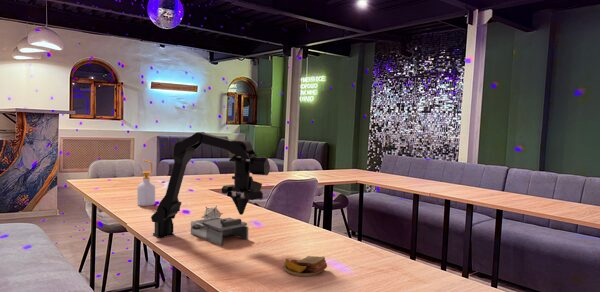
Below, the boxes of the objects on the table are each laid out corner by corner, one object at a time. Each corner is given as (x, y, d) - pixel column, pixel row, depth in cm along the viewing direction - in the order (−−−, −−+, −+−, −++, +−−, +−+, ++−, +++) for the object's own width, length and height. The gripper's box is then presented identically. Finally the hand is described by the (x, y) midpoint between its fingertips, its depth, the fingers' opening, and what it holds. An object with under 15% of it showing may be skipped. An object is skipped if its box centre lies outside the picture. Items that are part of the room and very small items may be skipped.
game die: (207, 232, 189) (194, 215, 188) (218, 222, 196) (206, 205, 195) (218, 226, 184) (205, 208, 183) (229, 215, 191) (216, 198, 190)
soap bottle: (136, 203, 231) (136, 159, 229) (154, 202, 235) (154, 158, 233) (138, 206, 223) (138, 160, 221) (155, 205, 227) (156, 160, 225)
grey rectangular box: (216, 246, 156) (216, 233, 156) (186, 234, 172) (186, 222, 171) (252, 238, 168) (252, 225, 168) (221, 227, 184) (221, 216, 183)
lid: (219, 231, 158) (219, 223, 158) (202, 224, 166) (202, 217, 166) (246, 225, 167) (247, 218, 167) (229, 219, 176) (229, 213, 175)
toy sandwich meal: (301, 261, 143) (301, 247, 143) (332, 271, 135) (333, 256, 134) (275, 270, 134) (276, 256, 134) (308, 282, 125) (308, 266, 125)
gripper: (274, 174, 157) (273, 215, 158) (244, 169, 170) (243, 207, 171) (250, 177, 149) (250, 220, 150) (221, 171, 162) (220, 211, 163)
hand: (241, 214), depth 159 cm, fingers closed
